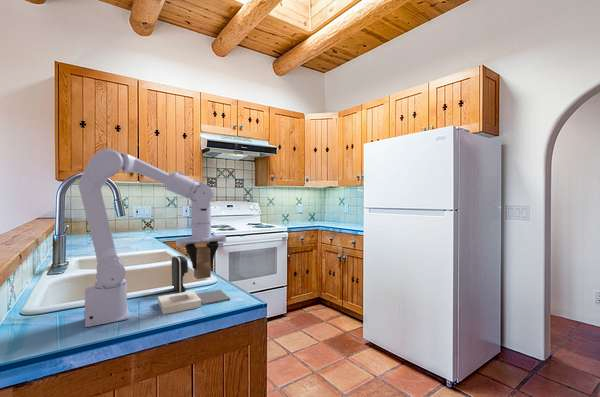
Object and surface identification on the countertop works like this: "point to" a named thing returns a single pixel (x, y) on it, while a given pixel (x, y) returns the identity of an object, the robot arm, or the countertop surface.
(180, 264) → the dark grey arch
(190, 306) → the holder
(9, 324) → the countertop surface
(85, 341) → the countertop surface
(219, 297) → the mat
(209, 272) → the peg
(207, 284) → the countertop surface
